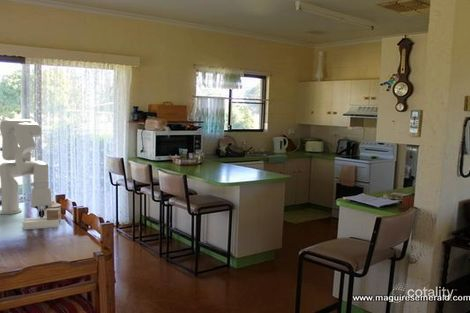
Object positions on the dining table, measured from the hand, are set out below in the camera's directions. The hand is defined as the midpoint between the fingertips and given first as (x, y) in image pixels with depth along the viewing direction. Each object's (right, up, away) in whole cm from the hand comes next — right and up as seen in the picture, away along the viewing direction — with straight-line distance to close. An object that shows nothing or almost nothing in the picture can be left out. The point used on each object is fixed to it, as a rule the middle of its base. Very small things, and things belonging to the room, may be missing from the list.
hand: (41, 217), depth 236 cm
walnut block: (+5, -4, +3) cm, 7 cm away
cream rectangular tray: (-1, -5, 0) cm, 5 cm away
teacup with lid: (0, -4, +15) cm, 15 cm away
